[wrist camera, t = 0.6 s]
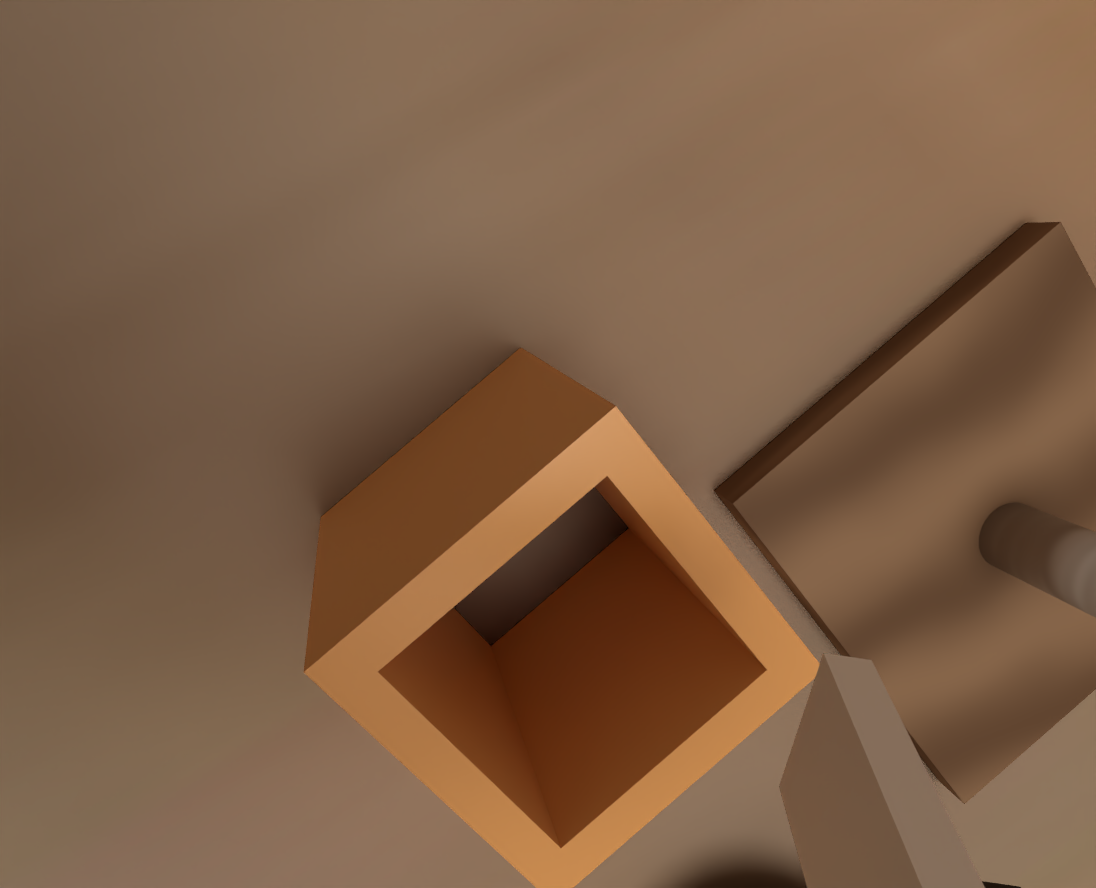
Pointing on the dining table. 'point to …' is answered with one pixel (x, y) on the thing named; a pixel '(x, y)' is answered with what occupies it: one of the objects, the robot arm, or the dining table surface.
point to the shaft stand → (954, 509)
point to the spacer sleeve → (543, 626)
